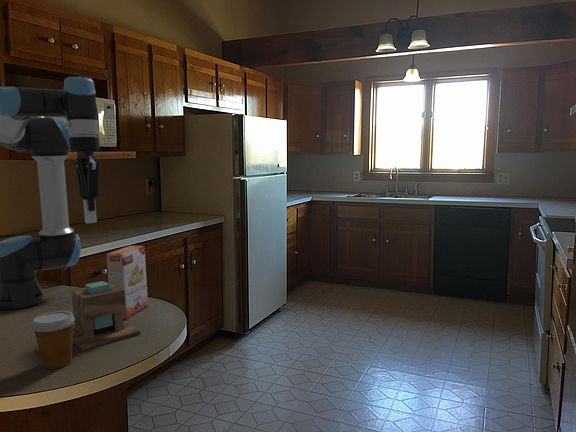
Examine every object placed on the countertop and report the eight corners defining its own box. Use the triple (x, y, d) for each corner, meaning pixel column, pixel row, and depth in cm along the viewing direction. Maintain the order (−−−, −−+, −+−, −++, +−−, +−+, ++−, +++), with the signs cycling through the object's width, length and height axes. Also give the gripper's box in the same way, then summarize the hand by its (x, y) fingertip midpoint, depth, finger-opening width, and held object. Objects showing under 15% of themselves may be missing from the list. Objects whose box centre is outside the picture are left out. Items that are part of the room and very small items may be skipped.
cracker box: (127, 320, 147) (122, 253, 144) (110, 319, 148) (104, 253, 146) (149, 305, 161) (145, 245, 158) (133, 305, 162) (128, 244, 159)
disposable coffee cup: (76, 368, 114) (71, 320, 112) (31, 375, 111) (26, 325, 110) (81, 353, 123) (77, 308, 121) (40, 358, 120) (35, 313, 119)
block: (88, 325, 136) (85, 284, 134) (106, 320, 139) (103, 280, 137) (95, 329, 132) (91, 287, 130) (112, 325, 135) (109, 284, 133)
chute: (63, 334, 136) (59, 290, 135) (118, 320, 147) (115, 279, 145) (81, 350, 124) (77, 302, 123) (140, 334, 135) (137, 289, 133)
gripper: (61, 137, 131) (69, 222, 134) (77, 135, 121) (85, 226, 125) (89, 137, 136) (96, 219, 139) (106, 135, 126) (113, 223, 129)
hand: (91, 222), depth 132 cm, fingers closed
